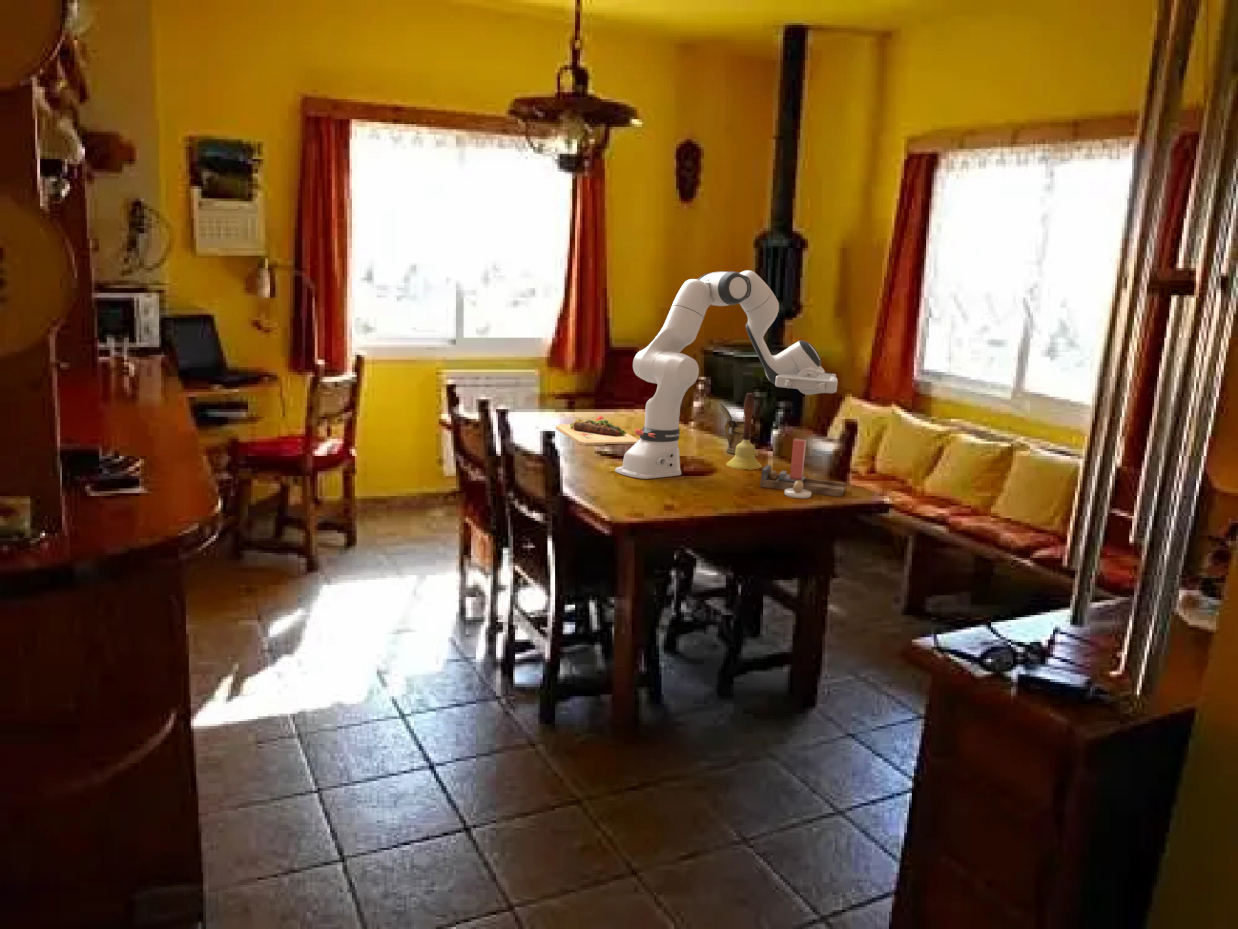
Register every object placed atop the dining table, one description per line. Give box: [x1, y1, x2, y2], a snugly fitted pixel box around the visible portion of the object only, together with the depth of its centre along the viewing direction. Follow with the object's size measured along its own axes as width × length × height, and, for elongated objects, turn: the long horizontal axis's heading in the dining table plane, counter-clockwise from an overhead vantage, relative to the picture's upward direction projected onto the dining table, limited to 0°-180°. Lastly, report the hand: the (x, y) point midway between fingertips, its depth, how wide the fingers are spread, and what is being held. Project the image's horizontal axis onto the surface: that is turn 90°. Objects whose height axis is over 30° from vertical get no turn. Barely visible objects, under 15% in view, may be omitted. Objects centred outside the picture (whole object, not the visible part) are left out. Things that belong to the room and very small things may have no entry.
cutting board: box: [555, 415, 639, 446], centre depth 369 cm, size 35×23×8 cm
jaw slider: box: [778, 438, 807, 484], centre depth 301 cm, size 8×7×14 cm
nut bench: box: [759, 464, 846, 498], centre depth 301 cm, size 25×10×5 cm, turn 71°
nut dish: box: [784, 481, 812, 499], centre depth 292 cm, size 8×8×4 cm
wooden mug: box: [719, 404, 752, 455], centre depth 349 cm, size 9×14×18 cm, turn 108°
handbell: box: [725, 392, 763, 471], centre depth 328 cm, size 12×12×25 cm
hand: (803, 385), depth 312 cm, fingers open, 8 cm apart
